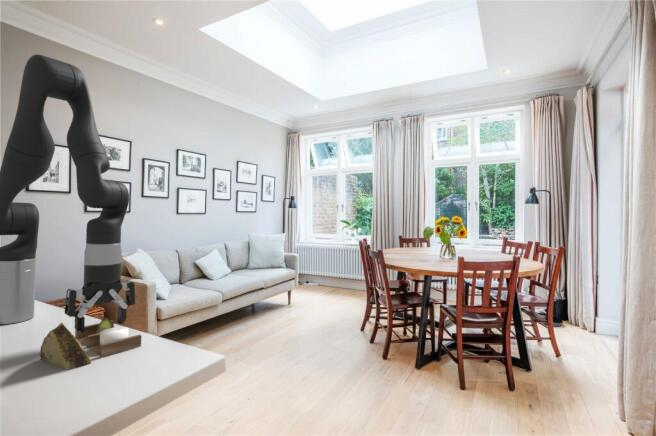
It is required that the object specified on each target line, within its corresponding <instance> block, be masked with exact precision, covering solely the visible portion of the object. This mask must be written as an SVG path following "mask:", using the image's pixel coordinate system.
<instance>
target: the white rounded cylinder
mask: <svg viewBox="0 0 656 436" xmlns="http://www.w3.org/2000/svg"><path fill="white" fill-rule="evenodd" d="M129 329H130V328H129V327H126V326H115V327H114V328H109V329H106V330H103V331H101V332H100V347H101V344H104V343H108V342H112V341H116V340H120V339H124V338H128V337H130V336H129V335H130V334H129Z"/></svg>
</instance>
